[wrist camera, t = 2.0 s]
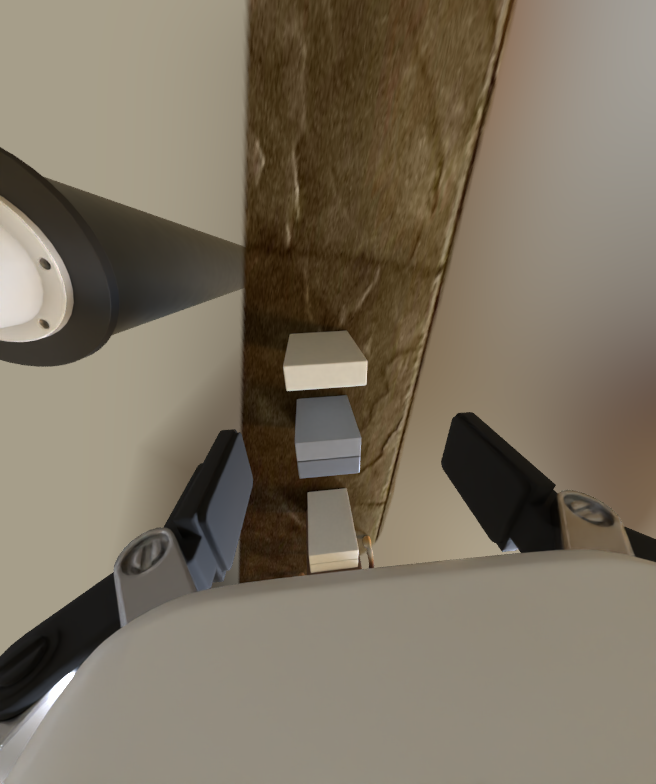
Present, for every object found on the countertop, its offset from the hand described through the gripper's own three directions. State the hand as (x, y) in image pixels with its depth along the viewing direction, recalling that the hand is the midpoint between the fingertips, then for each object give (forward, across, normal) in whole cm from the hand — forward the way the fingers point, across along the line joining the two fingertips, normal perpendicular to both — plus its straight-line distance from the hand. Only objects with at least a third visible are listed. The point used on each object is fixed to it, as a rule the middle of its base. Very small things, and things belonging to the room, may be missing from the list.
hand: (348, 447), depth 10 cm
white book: (+16, +1, 0) cm, 17 cm away
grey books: (+16, +1, +9) cm, 19 cm away
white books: (+17, +1, +25) cm, 30 cm away
